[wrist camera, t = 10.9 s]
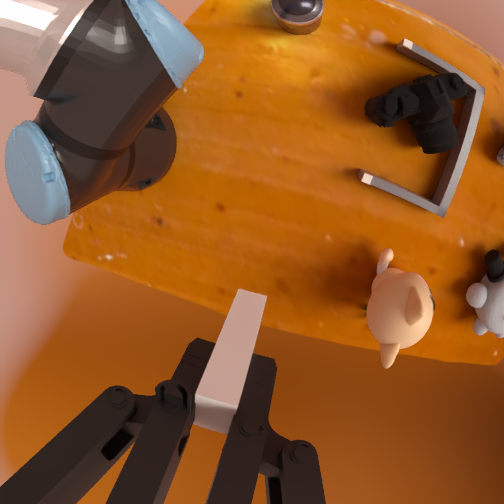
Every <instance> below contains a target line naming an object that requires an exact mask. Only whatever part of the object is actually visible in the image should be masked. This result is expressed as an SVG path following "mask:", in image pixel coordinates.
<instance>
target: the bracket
mask: <svg viewBox="0 0 504 504" xmlns="http://www.w3.org/2000/svg"><path fill="white" fill-rule="evenodd" d="M396 51H398V52H400V53H402V54H404V55H406V56H408V57H410V58H412V59H414V60H416V61H418V62H420V63H422V64H424V65H426V66H427V67H429V68H431V69H433V70H434V71H436V72H438V73H440V74H445V73H449V72H452V73H457V74H458V75H459V76H460V77H461V78H463V80H464V83H465V85H466V90H468V91H470V92H471V98H469V97H470V95H469V94H467V95H468V98H469V99H468V98H466V97H465V102H464V106H463V110H462V114H461V117H460V121H459V125H458V128H457V134H458V136H457V138H458V141H459V144H458V145H457V146H456V147H454V148H452V149H451V151H450V154H449V157H448V159H447V162H446V165H445V168H444V171H443V173H442V176H441V179H440V181H439V184H438V186H437V189H436V191H435V194H434V196H433V199H432V201H431V200H429V199H427V198H425V197H423V196H421V195H419V194H417V193H415V192H413V191H411V190H409V189H407V188H404V187H402V186H400V185H398V184H396V183H393V182H391V181H389V180H386V179H384V178H382V177H379V176H377V175H375V174H372V173H370V172H367V171H365V170H363V169H360V171H359V173H358V178H359V179H360V180H361V181H362V182H364V183H367V184H369V185H373V186H375V187H378V188H380V189H382V190H385V191H387V192H389V193H392V194H394V195H396V196H399V197H401V198H403V199H405V200H407V201H410V202H412V203H414V204H416V205H418V206H420V207H422V208H424V209H427V210H429V211H431V212H433V213H435V214H437V215H439V216H441V217H443V218H444V216H445V214H446V211H447V209H448V207H449V205H450V202H451V200H452V197H453V195H454V192H455V190H456V187H457V185H458V182H459V180H460V177H461V174H462V171H463V169H464V166H465V163H466V160H467V157H468V154H469V151H470V148H471V144H472V141H473V138H474V134H475V131H476V127H477V123H478V120H479V116H480V112H481V107H482V103H483V98H484V93H485V88H484V87H482V86H481V85H480V84H478V83H477V82H475V81H474V80H473V79H471V78H470V77H468V76H467V75H466V74H464V73H463V72H461V71H460V70H458V69H456V68H455V67H453V66H452V65H450V64H449V63H447V62H445V61H444V60H442V59H440V58H439V57H437V56H435V55H433V54H432V53H430V52H428V51H426V50H424V49H423V48H421V47H419V46H417V45H415V44H413V42H411V41H409V40H407V39H403V40H402V41H401V42H400V43H398V45H397V49H396Z"/></svg>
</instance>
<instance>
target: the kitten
mask: <svg viewBox="0 0 504 504" xmlns="http://www.w3.org/2000/svg"><path fill="white" fill-rule="evenodd" d="M392 259H393V251H392V250H391V249H389V248H386V249H384V250H382V251H381V253H380V255H379V262H378V265H377V275H376V277H375V278H374V280H373V282H372V287H371V290H372V295H371V297H370V299H369V302H368V305H367V307H365V310H366V313H367V322H368V326H369V328H370V331H371V332H372V334H373V336H374V337H375V338H376V339H377V340H378V341H379V342H380V352H381V357H382V364H383V367H384V368H389V367H390V366H391V365H392V364H393V362H394V359H395V357H396V355H397V353H398V351H399V349H402V348H406V347H409V346H411V345H413V344H415V343H416V342H418V341H419V340H420V339H421V338H422V337H423V336H424V335H425V333H426V332H427V330H428V328H429V326H430V324H431V321H432V316H433V311H434V309H435V304H434V300H433V297H432V293H431V291H430V289H429V288H428V286H427V284H426V282H425V281H424V279H423V278H422V277H421V276H420V275H418V274H416V273H414V272H404V271H402V270H400V269H397V268H392V267H389V268H387V267H388V264H389V261H391V260H392Z"/></svg>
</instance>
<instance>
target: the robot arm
mask: <svg viewBox="0 0 504 504" xmlns="http://www.w3.org/2000/svg"><path fill="white" fill-rule="evenodd" d="M203 57H204V48H203V46H202V44H201V43H200V41H199V40H198V39H197V38H196V37H195V36H194V35H193V34H192V33H191V32H190V31H189V30H188V29H187V28H186V27H185V26H184V25H183V24H182V23H181V22H180V21H179V20H178V19H177V18H175V17H174V16H173V15H172V14H171V13H170V12H169V11H168V10H167V9H166V8H165V7H164V6H162V5H161V4H160V3H159V2H158V1H157V0H0V68H1V69H4V70H8V71H11V72H15V73H18V74H22V75H23V77H24V78H25V81H26V84H27V87H28V90H29V93H30V95H31V96H34V97H37V98H40V99H43V100H44V102H43V104H42V106H41V108H40V110H39V112H38V115H37V117H36V118H35V119H34V120H33V121H31V120H29V121H24V122H22V124H20V125H18V126H16V127H15V128H14V129H13V130H12V131H11V133H10V135H9V137H8V140H7V144H6V149H5V168H6V175H7V179H8V183H9V187H10V190H11V193H12V195H13V197H14V199H15V202H16V203H17V205H18V207H19V208H20V210H21V211H22V212H23V214H24V215H25V216H26V217H27V218H28V219H30V220H31V221H33V222H35V223H38V224H41V225H47V224H50V223H52V222H55V221H57V220H60V219H64V218H66V217H67V216H68V215H69V214H71V213H73V212H75V211H76V210H78V209H80V208H82V207H84V206H86V205H87V204H89V203H91V202H93V201H95V200H97V199H99V198H101V197H103V196H105V195H107V194H109V193H111V192H113V191H115V190H116V191H139V190H143V189H145V188H148V187H150V186H152V185H154V184H155V183H157V182H158V181H160V180H161V179H162V178H163V177H164V176H165V175H166V174H167V172H168V171H169V169H170V167H171V165H172V163H173V160H174V157H175V153H176V132H175V128H174V125H173V123H172V120H171V118H170V117H169V115H168V114H167V112H166V111H165V110H164V109H163V108H162V106H163V105H164V104H165V102H166V101H167V100H168V99H169V98H170V97H171V96H172V95H173V94H174V93H175V91H176V90H177V89H179V90H180V89H181V88H182V86H183V82H184V81H185V80H186V79H187V78H188V77H189V76H190V74H191V73H192V72H193V71H194V70H195V69H196V68H197V67H198V66H199V65H200V63H201V62H202V60H203ZM266 299H267V296H265V295H261V294H257V293H254V292H250V291H246V290H242V289H238V291H237V294H236V296H235V299H234V301H233V304H232V306H231V308H230V311H229V313H228V316H227V318H226V321H225V323H224V325H223V328H222V330H221V333H220V335H219V338H218V340H217V343H213V342H209V341H206V340H203V339H200V338H196V339H195V340H194V341H192V342H191V343H190V344H189V345H188V347H187V349H186V351H185V353H184V355H183V357H182V359H181V361H180V363H179V365H178V366H177V369H176V370H175V372H174V374H173V376H172V378H171V380H166V381H163V382H161V383H159V384H158V385H157V387H156V388H155V392H156V395H153V396H145V395H137V394H133V393H132V392H131V391H130V390H129V389H127V388H125V387H123V386H117V385H116V386H112V387H109V388H108V389H106V390H105V391H104V392H103V393H102V394H100V395H99V396H98V397H97V398H96V399H95V400H94V401H93V402H92V403H91V404H90V405H89V406H87V407H86V408H85V409H84V410H83V411H82V412H81V413H80V414H79V415H78V416H77V417H76V418H75V419H73V420H72V421H71V422H70V423H69V424H68V425H67V426H66V427H65V428H64V429H63V430H62V431H60V432H59V433H58V434H57V435H56V436H55V437H54V438H53V439H52V440H51V441H50V442H49V443H47V444H46V445H45V446H44V447H43V448H42V449H41V450H40V451H39V452H38V453H37V454H36V455H34V456H33V457H32V458H31V459H30V460H29V461H28V462H27V463H26V464H25V465H24V466H23V467H21V468H20V469H19V470H18V471H17V472H16V473H15V474H14V475H13V476H12V477H11V478H9V480H7V481H6V482H5V483H4V484H3V485H2V486H1V487H0V504H76V503H77V502H78V501H79V500H80V499H81V498H82V497H83V496H84V495H85V494H86V493H87V492H88V491H89V490H90V489H91V488H92V487H93V486H94V485H95V484H96V483H97V482H98V481H99V480H100V479H101V478H102V476H103V475H104V474H105V473H106V472H107V471H108V470H109V469H110V468H111V467H112V466H113V465H114V464H115V463H116V461H118V459H119V458H120V457H121V456H122V455H123V454H124V453H125V452H126V451H127V449H129V447H130V446H131V445H132V444H133V443H134V442H135V441H136V442H135V444H134V446H133V448H132V450H131V452H130V454H129V456H128V458H127V460H126V462H125V464H124V466H123V468H122V471H121V472H120V475H119V477H118V479H117V481H116V483H115V485H114V487H113V489H112V491H111V493H110V495H109V498H108V500H107V502H106V504H163V503H164V501H165V498H166V496H167V493H168V491H169V488H170V486H171V483H172V480H173V478H174V475H175V473H176V470H177V467H178V465H179V462H180V460H181V457H182V454H183V452H184V449H185V447H186V444H187V442H188V439H189V436H190V430H191V427H192V425H193V422H194V425H197V426H201V427H204V428H207V429H210V430H214V431H217V432H221V433H224V434H227V438H226V441H225V444H224V447H223V449H222V453H221V457H220V460H219V463H218V466H217V469H216V472H215V476H214V479H213V482H212V485H211V488H210V491H209V494H208V497H207V500H206V503H205V504H251V503H252V499H253V494H254V490H255V486H256V482H257V477H258V473H261V474H263V475H265V483H266V495H267V504H326V502H325V496H324V490H323V484H322V478H321V472H320V467H319V461H318V455H317V452H316V449H315V447H313V445H312V444H311V443H309V442H307V441H304V440H294V441H290V440H288V439H286V438H284V437H282V436H280V435H279V434H277V433H276V432H275V431H274V430H273V429H272V428H271V426H270V424H269V420H268V415H269V410H270V404H271V399H272V394H273V388H274V383H275V378H276V372H277V367H276V364H275V361H274V359H273V358H269V357H265V356H261V355H257V354H253V349H254V346H255V342H256V338H257V334H258V330H259V327H260V323H261V319H262V315H263V311H264V307H265V303H266Z"/></svg>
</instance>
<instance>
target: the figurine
mask: <svg viewBox="0 0 504 504" xmlns="http://www.w3.org/2000/svg"><path fill="white" fill-rule="evenodd" d="M484 260H485V263H486V265H487V268H488V270H487V273H486V274H485V276H484V277H483V278H482V280H481V281H480V283H474V284H472V285H470V287H469V288H468V290H467V293H466V299H467V302H468V303H469V305H471V306H472V307H475V311H476V313H477V315H478V317H477V319H476V320H475V322H474V324H473V330H474V332H475V333H476V334H477V335H482V334H484V333H486V332H487V331H490V332H492V333H495V335H496V336H497V337H498V338H503V337H504V262H503V261H502V258H501V255H500V252H499V251H498V250H491V251H489V252H488V253H487V254H486V255H485V259H484Z"/></svg>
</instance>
